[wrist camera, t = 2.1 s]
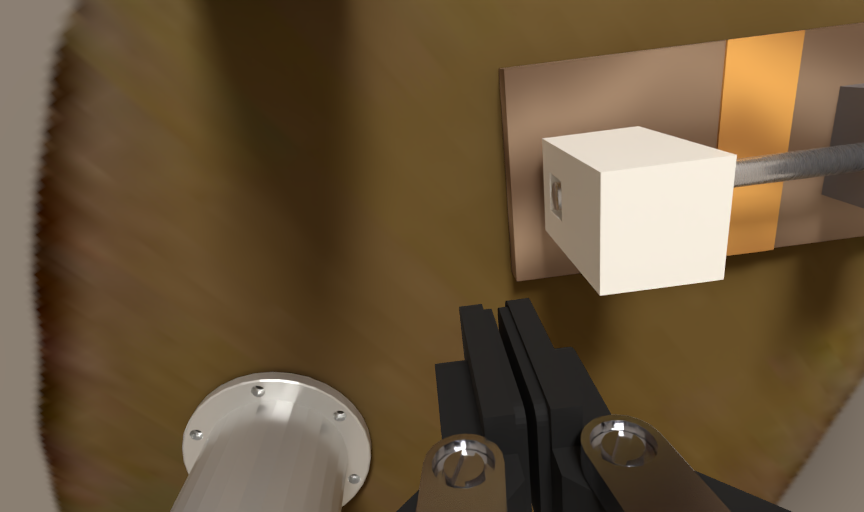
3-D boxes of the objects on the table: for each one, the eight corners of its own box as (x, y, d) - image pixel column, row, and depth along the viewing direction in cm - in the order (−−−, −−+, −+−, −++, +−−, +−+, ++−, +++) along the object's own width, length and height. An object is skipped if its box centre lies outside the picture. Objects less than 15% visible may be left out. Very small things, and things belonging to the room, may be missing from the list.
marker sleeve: (635, 218, 28) (723, 279, 20) (545, 230, 28) (599, 295, 20) (638, 126, 26) (736, 154, 18) (542, 138, 26) (600, 172, 18)
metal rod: (871, 165, 26) (895, 170, 25) (552, 206, 26) (560, 214, 24) (877, 137, 25) (902, 141, 24) (551, 179, 25) (559, 185, 24)
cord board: (888, 223, 32) (912, 231, 30) (511, 272, 32) (517, 283, 30) (936, 12, 27) (968, 9, 26) (498, 67, 27) (504, 68, 26)
